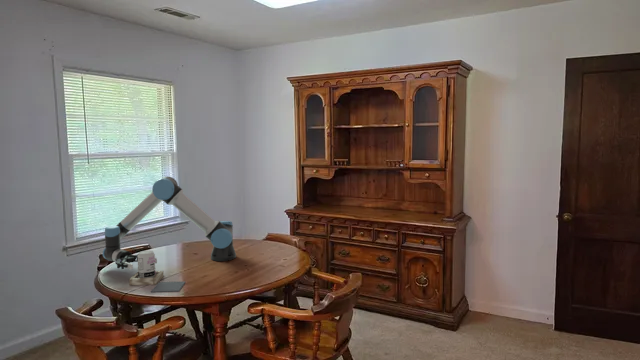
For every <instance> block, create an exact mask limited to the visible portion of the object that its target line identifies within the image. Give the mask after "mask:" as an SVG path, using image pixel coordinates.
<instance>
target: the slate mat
mask: <svg viewBox="0 0 640 360" xmlns="http://www.w3.org/2000/svg"><path fill="white" fill-rule="evenodd" d="M185 284H186V281H159V282H158V283H157V284H156V285H155V286H154V287H153V288H152V289H151V291H150V292H151V293H176V292H180V291H181V289H182V288H183V286H185Z"/></svg>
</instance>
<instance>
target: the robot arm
mask: <svg viewBox="0 0 640 360" xmlns="http://www.w3.org/2000/svg"><path fill="white" fill-rule="evenodd" d="M161 202H164V203H165V204H166V205H168V206H173V207H174V208H175V209H177V210H178V211H179V212H180V213H181V214H183V215H184V217H186V218H187V219H189V221H191V222H192V223H193V224H195V226H196V227H198V228H199V229H200V230H201V231H202V232H203V233H204V236H205V238H206V239H207V240H209V241H210V242H211V244H212V246H213V247H212V250H211V253H210V259H211V260H212V261H215V262H228V260H229V261H232V259H233V260H235V259H236V258H237V253H236V250H235V247H234V242H233V241H234V239H233V237H234V236H233V234H234V232H233V228H234V227H233V221H230V220H215V219H214V218H212V217H211V216H210V215H209V214H207V213H206V212H205V211H204V210H203V209H202V208H201V207H199V206H198V205H197V204H196V203H195V202H193V200H192V199H190V198H188V196H187V195H185V194H184V191H183V188H181V187H180V186H179V185H178V182H177V180H176V179H175V178H174V177H171V176H163V177H161V178H158V179H157V180H156V181H155V182H154V183H153V185H152V190H151V193H150V194H148V195H147V196H146V197H145V198H144V199H143V200H142V201H141V202H140V203H139V204H138V205H136V207H134V209H132V210H131V211H130V212H129V213H128V214H127V215H125V217H124V218H123V219H122V220H120V221H119V222H118V223H117V224H116V225H109V226H106V227H105V228H104V243H105V245H104V246H105V247H104V248H103V251H102V253H101V254H102V257H103V259H105V260H107V261H109V262H114V263H115V265H116V266H117V269H120V268H121V270H124V269H128V270H134V266H133V265H134V264H133V263H138V258H137V256H138V254H132V252H131V251H128V250H125V249H122V248H121V239H123V238H124V237H125V236H126V235H127V234H128V233H130V232H131V230H132V229H134V227H136V226H137V225H138V224H139V223H140V222H141V221H142V220H143V219H144V218H145V217H146V216H147V215H149V214H150V212H152V211H153V210H154V209H155V208H156V207H157V206H158V205H159V204H160V203H161ZM234 258H235V259H234ZM155 264H158V257H155Z"/></svg>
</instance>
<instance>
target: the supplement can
mask: <svg viewBox="0 0 640 360" xmlns="http://www.w3.org/2000/svg"><path fill="white" fill-rule="evenodd" d="M137 255H138V256H137V258H138V262H137V272H138V278H154V277H155V271H156V263H155V258H156V256H155V255H156V254H155V252H154V251H153V250H142V251H139V252H138V253H137ZM137 258H136V259H137Z"/></svg>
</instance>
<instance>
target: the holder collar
mask: <svg viewBox="0 0 640 360" xmlns="http://www.w3.org/2000/svg"><path fill="white" fill-rule="evenodd" d="M164 275H165V274H164V270H155V277H154V278H138V271H137V272H136V273H135V274H134V275H132V276H131V277H130V278H129V279H128V281H129V286H147V285H153V286H154V285H155V286H156V285H157V284H158V283H159V282H161V281H162V279H163V278H164Z"/></svg>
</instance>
